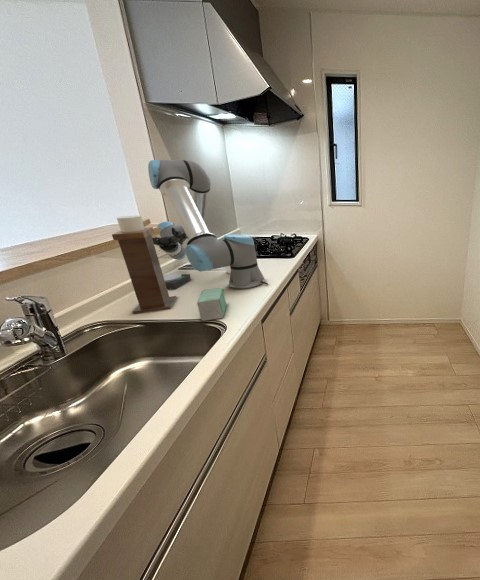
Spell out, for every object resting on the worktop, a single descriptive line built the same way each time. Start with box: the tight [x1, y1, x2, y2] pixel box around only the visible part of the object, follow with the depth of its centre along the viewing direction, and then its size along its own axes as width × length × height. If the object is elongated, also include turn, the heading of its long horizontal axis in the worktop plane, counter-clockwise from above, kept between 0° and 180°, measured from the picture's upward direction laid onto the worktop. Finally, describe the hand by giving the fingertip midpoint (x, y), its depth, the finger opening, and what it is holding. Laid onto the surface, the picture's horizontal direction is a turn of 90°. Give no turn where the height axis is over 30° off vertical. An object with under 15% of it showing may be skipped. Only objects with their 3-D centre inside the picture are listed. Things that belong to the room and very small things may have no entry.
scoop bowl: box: [116, 214, 152, 232], centre depth 119 cm, size 21×7×5 cm, turn 22°
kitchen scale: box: [163, 273, 192, 290], centre depth 147 cm, size 13×13×4 cm
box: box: [196, 287, 227, 322], centre depth 117 cm, size 7×14×8 cm, turn 22°
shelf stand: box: [111, 226, 178, 315], centre depth 119 cm, size 12×12×30 cm
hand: (154, 231), depth 135 cm, fingers open, 13 cm apart
